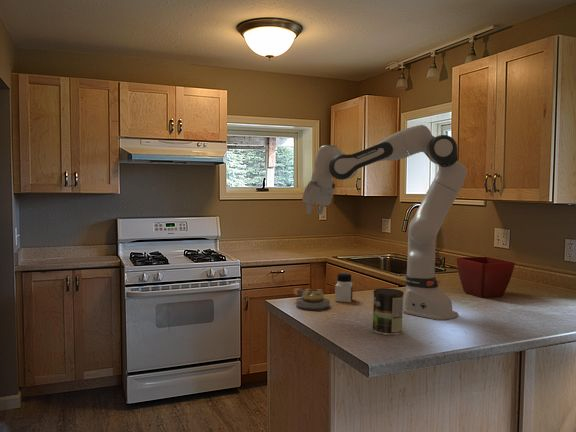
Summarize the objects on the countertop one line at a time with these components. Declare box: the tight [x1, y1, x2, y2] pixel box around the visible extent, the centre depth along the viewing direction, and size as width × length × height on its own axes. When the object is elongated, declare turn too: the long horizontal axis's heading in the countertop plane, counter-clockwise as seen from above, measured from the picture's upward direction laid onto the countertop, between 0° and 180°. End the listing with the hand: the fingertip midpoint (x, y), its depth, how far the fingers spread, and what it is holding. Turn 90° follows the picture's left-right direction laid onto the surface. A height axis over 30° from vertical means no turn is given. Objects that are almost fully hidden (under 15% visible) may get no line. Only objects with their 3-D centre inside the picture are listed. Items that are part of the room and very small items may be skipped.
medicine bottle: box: [334, 272, 354, 303], centre depth 220 cm, size 7×7×12 cm
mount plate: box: [295, 296, 331, 311], centre depth 208 cm, size 14×14×3 cm
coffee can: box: [372, 288, 404, 336], centre depth 174 cm, size 10×10×14 cm
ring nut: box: [293, 287, 325, 302], centre depth 211 cm, size 16×9×4 cm, turn 38°
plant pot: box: [456, 256, 516, 299], centre depth 238 cm, size 19×19×17 cm
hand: (313, 214), depth 213 cm, fingers open, 8 cm apart
